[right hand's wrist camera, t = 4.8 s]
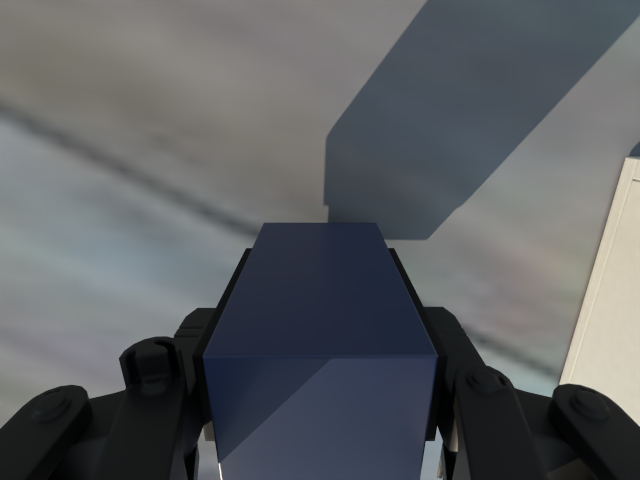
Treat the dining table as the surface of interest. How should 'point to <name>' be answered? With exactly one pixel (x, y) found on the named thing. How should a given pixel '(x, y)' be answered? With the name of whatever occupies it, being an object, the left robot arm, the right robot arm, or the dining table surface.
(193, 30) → the dining table surface
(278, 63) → the dining table surface
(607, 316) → the drawer
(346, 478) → the pillar
